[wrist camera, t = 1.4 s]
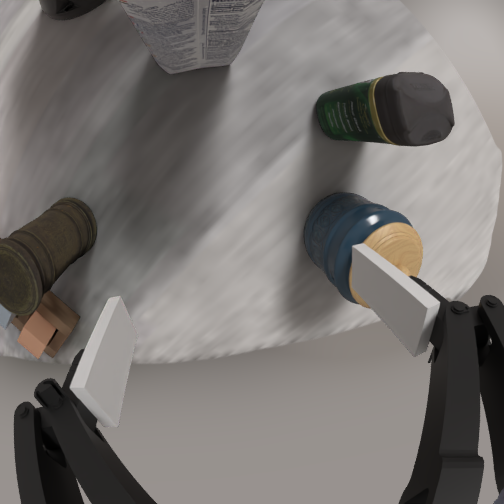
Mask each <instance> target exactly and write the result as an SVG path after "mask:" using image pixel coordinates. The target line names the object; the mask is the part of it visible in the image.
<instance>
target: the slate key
mask: <svg viewBox="0 0 504 504" xmlns="http://www.w3.org/2000/svg"><path fill="white" fill-rule="evenodd" d="M15 316H16V314H14V313H11V312H10V311H8V310H7V309H5V308H4V307H3V306H2V305H1V304H0V325H1V326H2V327H3V328H4V329H6V328H7V327H8V325H9V324H10V323H11V321H12V320H13V319H14V318H15Z"/></svg>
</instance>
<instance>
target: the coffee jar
mask: <svg viewBox="0 0 504 504" xmlns="http://www.w3.org/2000/svg"><path fill="white" fill-rule="evenodd" d="M316 110H317V115H318V119H319V122H320V125H321V128H322V130H323V132H324V133H325V134H326V135H327V136H328V137H329V138H331V139H334V140H344V141H364V142H376V143H386V144H393V145H398V146H424V145H430V144H433V143H437V142H440V141H442V140H444V139H445V138H446V137H447V136H448V135H449V133H450V132H451V130H452V127H453V126H454V124H455V123H454V114H453V108H452V103H451V99H450V95H449V91H448V90H447V89H446V88H445V87H444V85H443V84H442V83H441V82H440V81H439V80H437V79H436V78H435V77H433V76H431V75H428V74H424V73H416V72H399V73H398V74H393V75H388V76H384V77H380V78H376V79H372V80H368V81H364V82H360V83H357V84H353V85H350V86H346V87H342V88H338V89H335V90H332V91H329V92H326V93H324V94H322V95H321V96H320V97H319V98H318V100H317V104H316Z"/></svg>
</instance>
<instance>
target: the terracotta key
mask: <svg viewBox="0 0 504 504" xmlns="http://www.w3.org/2000/svg"><path fill="white" fill-rule="evenodd" d="M55 330H56V328H55V327H54V326H53V325H52V324H51V323H49V322H48V321H47V320H46V319H45V318H44V317H43V316H42V315H40V314H39V313H38V312H37V311H35V312H34V313H33V315H32V316H31V317H30V319H29V320H28V321H27V323H26V324H25V325H24V327H23V329H22V331H21V334H20V336H19V338H18V340H17V341H18V342H19V343H20V344H21V345H22V346H23V347H25V348H26V349H27V350H28V351H29V352H30V353H32V354H33V355H34V356H35V357H36V358H38V359H39V357H40V356H41V354H42V352H43V351H44V349H45V347H46V346H47V344H48V342H49V340H50V339H51V337H52V335H53V334H54V332H55Z"/></svg>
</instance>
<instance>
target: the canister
mask: <svg viewBox="0 0 504 504" xmlns="http://www.w3.org/2000/svg"><path fill="white" fill-rule="evenodd" d="M304 242H305V246H306V249H307V252H308V254H309V256H310V258H311V259H312V261H313V262H314V263H315V264H316V265H317V266H318V267H319V268H320V269H322V270H323V271H324V273H325V274H326V275H327V277H328V279H329V280H330V282H331V283H332V284H333V285H334V286H336V287H337V289H338V290H339V292H340V293H341V295H342V296H343V297H344V298H345V299H347V300H348V301H350V302H352V303H355V304H360V305H362V306H363V307H366V308H370V307H369V305H368V304H367V303H366V302H365V301H364V300H363V299H362V298H361V297H360V296H359V295H358V294H357V292H356V291H355V290H354V289H353V288H352V246H353V245H357V244H362V243H364V244H365V245H367V246H368V247H369V248H371V249H372V250H374V251H375V252H376V253H378V254H379V255H380V256H382V257H383V258H384V259H386V260H387V261H388V262H390V263H391V264H392V265H394V266H395V267H396V268H398V269H399V270H400V271H402V272H403V273H404V274H406V275H407V276H411V275H412V276H414V277H417V275H418V273H419V270H420V267H421V263H422V258H423V247H422V242H421V239H420V237H419V235H418V233H417V232H416V230H415V229H414V228H413V227H412V225H411V223H410V222H409V220H408V219H407V218H406V217H405V216H404V215H402V214H401V213H399V212H396V211H393V210H390V209H388V208H387V207H385V206H383V205H380V204H375V203H373V202H371V201H368V200H367V199H366V198H364V197H362V196H360V195H357V194H354V193H336V194H332V195H330V196H328V197H326V198H324V199H323V200H321V201H320V202H319V203H318V204H317V205H316V206H315V207H314V208H313V209H312V211H311V212H310V214H309V216H308V218H307V221H306V224H305V228H304Z"/></svg>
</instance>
